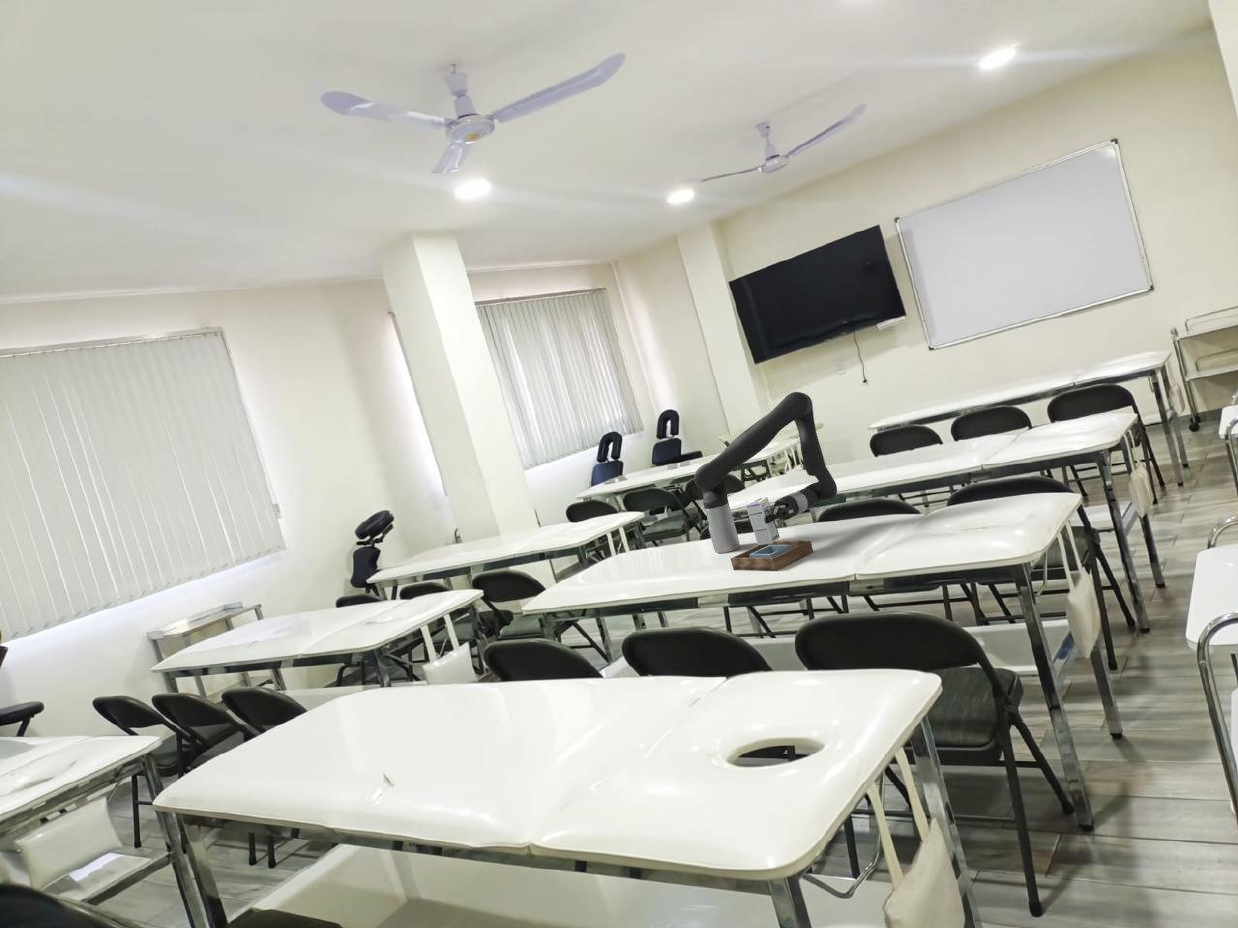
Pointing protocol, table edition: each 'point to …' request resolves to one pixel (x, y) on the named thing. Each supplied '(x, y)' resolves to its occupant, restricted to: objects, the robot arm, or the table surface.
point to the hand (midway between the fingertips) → (757, 521)
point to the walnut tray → (772, 564)
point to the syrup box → (762, 521)
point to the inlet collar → (771, 551)
